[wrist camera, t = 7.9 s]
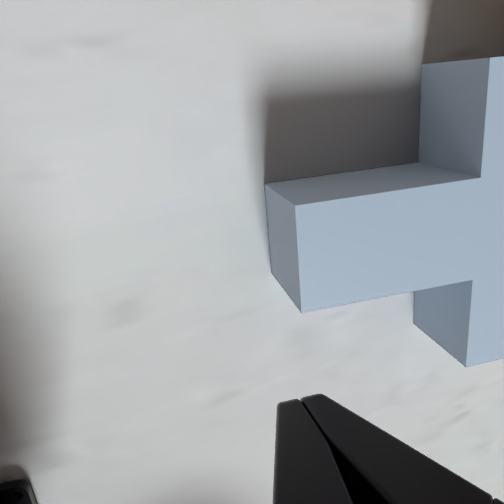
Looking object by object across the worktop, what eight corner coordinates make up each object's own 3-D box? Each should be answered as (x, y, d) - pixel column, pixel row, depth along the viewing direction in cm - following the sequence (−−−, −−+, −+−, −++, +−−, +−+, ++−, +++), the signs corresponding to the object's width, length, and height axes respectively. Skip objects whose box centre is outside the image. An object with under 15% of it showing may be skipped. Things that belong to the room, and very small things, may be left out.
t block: (484, 308, 24) (547, 347, 20) (278, 351, 22) (307, 404, 18) (506, 56, 20) (591, 47, 16) (255, 80, 18) (287, 77, 14)
